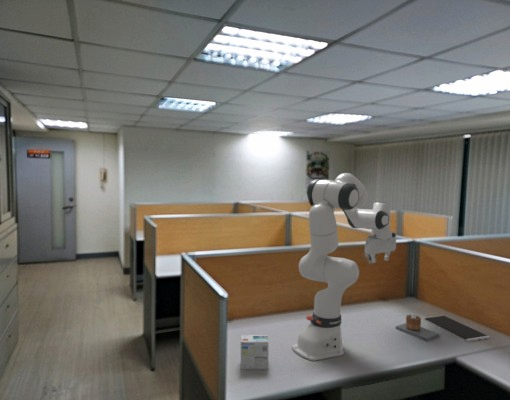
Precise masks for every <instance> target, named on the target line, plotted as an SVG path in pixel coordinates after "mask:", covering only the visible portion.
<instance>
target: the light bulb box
mask: <svg viewBox="0 0 510 400" xmlns="http://www.w3.org/2000/svg"><path fill="white" fill-rule="evenodd" d="M240 370H269V339H268V334H241V335H240Z"/></svg>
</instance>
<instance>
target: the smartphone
mask: <svg viewBox="0 0 510 400" xmlns="http://www.w3.org/2000/svg"><path fill="white" fill-rule="evenodd" d="M423 321H424V322H427V323H428V324H430V325H432V326H435V327H437V328H439V329H441V330H443V331H445V332H447V333H448V334H450V335H452V336H455V337H457V338H459V339H461V340H463V341H465V342H468V343H471V342H477V341H483V340H484V341H485V340H490V338H491V337H490V336H489V335H488V334H485V333H482V332H481V331H478V330H476V329H474V328H473V327H470V326H469V325H466V324H464V323H461V322H459V321H457V320H455V319H452V318H450V317H449V316H446V315H435V316H428V317H423Z"/></svg>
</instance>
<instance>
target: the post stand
mask: <svg viewBox="0 0 510 400" xmlns="http://www.w3.org/2000/svg"><path fill="white" fill-rule="evenodd" d="M410 315H411V318H412V319H416V316H417V315H416V316H415V314H410ZM395 330H398V331H400V332H403V333H405V334H407V335H410V336H412V337H415V338H418V339H420V340H423V341H425V342H428V341H431V340H433V339H436V338H438V337H440V333H439V332H436V331H434V330H430V329H427V328H426V327H423V326H421V329H419V330H411V329H409V328H407V327H406V322H405V323H402V324H398V325H396V326H395Z"/></svg>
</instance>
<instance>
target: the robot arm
mask: <svg viewBox="0 0 510 400" xmlns="http://www.w3.org/2000/svg"><path fill="white" fill-rule="evenodd" d="M368 193H369V192H368V190H367V189H366V187H365V185H364V184H363V183H362V182H361V181H360V180H359V179H358V178H357V177H356V176H355V175H354V174H352V173H349V172H343V173H340V174H338V176H336V178H335V179H334V180H333V179H322V178H316V179H313V180H311V181H310V183H309V184H308V185H307V188H306V195H307V200H308V203H309V205H310V206H311V207H310V209H309V214H308V228H309V235H310V236H309V237H310V249H309V251H308V252H307V254H305V255H304V256H302V257H301V259H300V260H299V262H298V271H299V273H300V276H301V277H303V278H305V279H307V280H310V281H316V282H321V283H327V287H326V288H323V289H321V290H319V291H317V292H316V294H315V295H314V299H313V301H314V302H313V305H314V306H313V309H314V310H313V313H312V315H310V314H307V315H306V317H305V319H306V320H307V321H310V323H309V324H308V325H307V326H306V327H305V328H304V329H303V330H302V331H301V332H299V335H298V339H297V342H296V343H294V344H293V345H292V346H291V348H292V351H293V352H294V353H295V354H297V355H298V356H300V357H302V358H304V359H305V360H309V361H315V362H316V361H319V360H325V359H328V358H329V359H330V358H335V357H339V356H343V355H345V351H344V348H345V347H344V344H343V337H342V328H341V324H342V314H341V306H342V305H341V304H342V298H343V295H344V293H345V291H346V290H347V289H348V288H349V287H350V286H352V285H353V284H355V283H356V282H357V280H358V278H359V277H360V269H359V266H358V264H357V263H356V261H355V260H351V259H348V258H344V257H335V256H329V255H328V254H331V253H333V252H334V251H336V250H337V248H338V246H339V234H338V226H337V224H338V223H337V220H336V216H335V209H338V210H342V212H343V214H344V215H345V217H346V220H347V224H348V225H349V226H350V227H351V228H352V229H365V230H371V235H368V236H367V237H366V240H365V242H364V253H365V254H366V255H369V257H370V259H371V263H373V264H374V263H377V258H375V257H376V255H377V254H383V253H384V256H383V261H389V259H390V256H391V252H395V251H396V249H397V239H396V238H397V232H394V231H391V225H390V223H391V206H390V204H389V203H388V202H382V201H376V202H373V206H372V209H370V208H369V209H367V208H362V207H363V206H365V204H366V203H367V201H368V199H369V198H368V197H369V196H368V195H369V194H368Z"/></svg>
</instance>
